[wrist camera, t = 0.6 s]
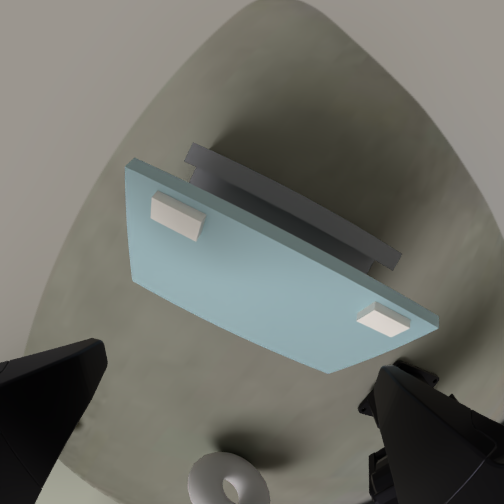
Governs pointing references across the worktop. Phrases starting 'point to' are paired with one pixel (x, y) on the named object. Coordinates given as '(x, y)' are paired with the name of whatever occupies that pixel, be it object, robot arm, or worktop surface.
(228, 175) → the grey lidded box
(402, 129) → the worktop surface
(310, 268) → the cover
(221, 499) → the donut
